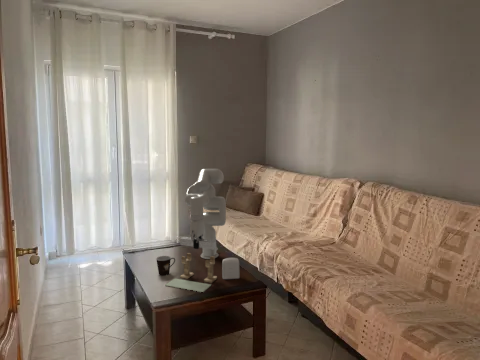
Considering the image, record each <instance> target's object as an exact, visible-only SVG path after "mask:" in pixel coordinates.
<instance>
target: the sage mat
mask: <svg viewBox="0 0 480 360" xmlns="http://www.w3.org/2000/svg"><path fill="white" fill-rule="evenodd" d="M164 286H165V287H168V286H170V287H169V288H174V287H175V289H179V288H181V289H180V290H185V289H187V290H186V291H190V290H193V291H192V292H196V291H197V293H201V292H203V293H205V292H206V291H207V290H208V289H209V288H211V286H212V283H206V282H204V283H203V282H198V281H192V280H188V279H182V278H173V279H172V280H171V281H169V282H167V283H166V284H165V285H164Z"/></svg>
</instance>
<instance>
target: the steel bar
mask: <svg viewBox="0 0 480 360" xmlns="http://www.w3.org/2000/svg"><path fill="white" fill-rule="evenodd" d="M195 239H196V238H195ZM179 240H180V241H179V245H180V246H186V247H193V241H192V240H191V237H190V236H182V237H180V239H179ZM198 242H199V248H200V249H203V248H207V249H214V248H216V247H217V239H216V240H208V239H200V238H198ZM193 248H194V247H193Z"/></svg>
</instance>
